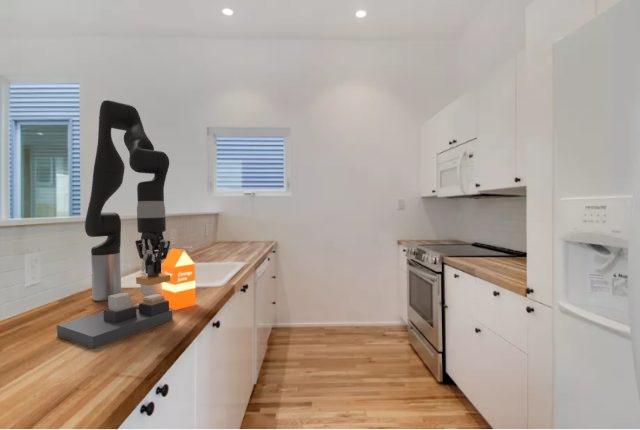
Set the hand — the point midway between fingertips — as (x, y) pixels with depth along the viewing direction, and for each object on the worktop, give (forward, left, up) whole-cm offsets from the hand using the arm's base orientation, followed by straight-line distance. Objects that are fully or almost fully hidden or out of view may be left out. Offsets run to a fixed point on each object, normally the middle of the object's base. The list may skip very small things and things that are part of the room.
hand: (153, 273), depth 94 cm
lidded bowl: (-22, +17, -15) cm, 31 cm away
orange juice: (-8, +15, -15) cm, 22 cm away
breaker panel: (-6, -7, -15) cm, 17 cm away
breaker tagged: (0, 0, -12) cm, 12 cm away
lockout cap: (0, 0, -3) cm, 3 cm away
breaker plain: (-4, -8, -10) cm, 13 cm away
